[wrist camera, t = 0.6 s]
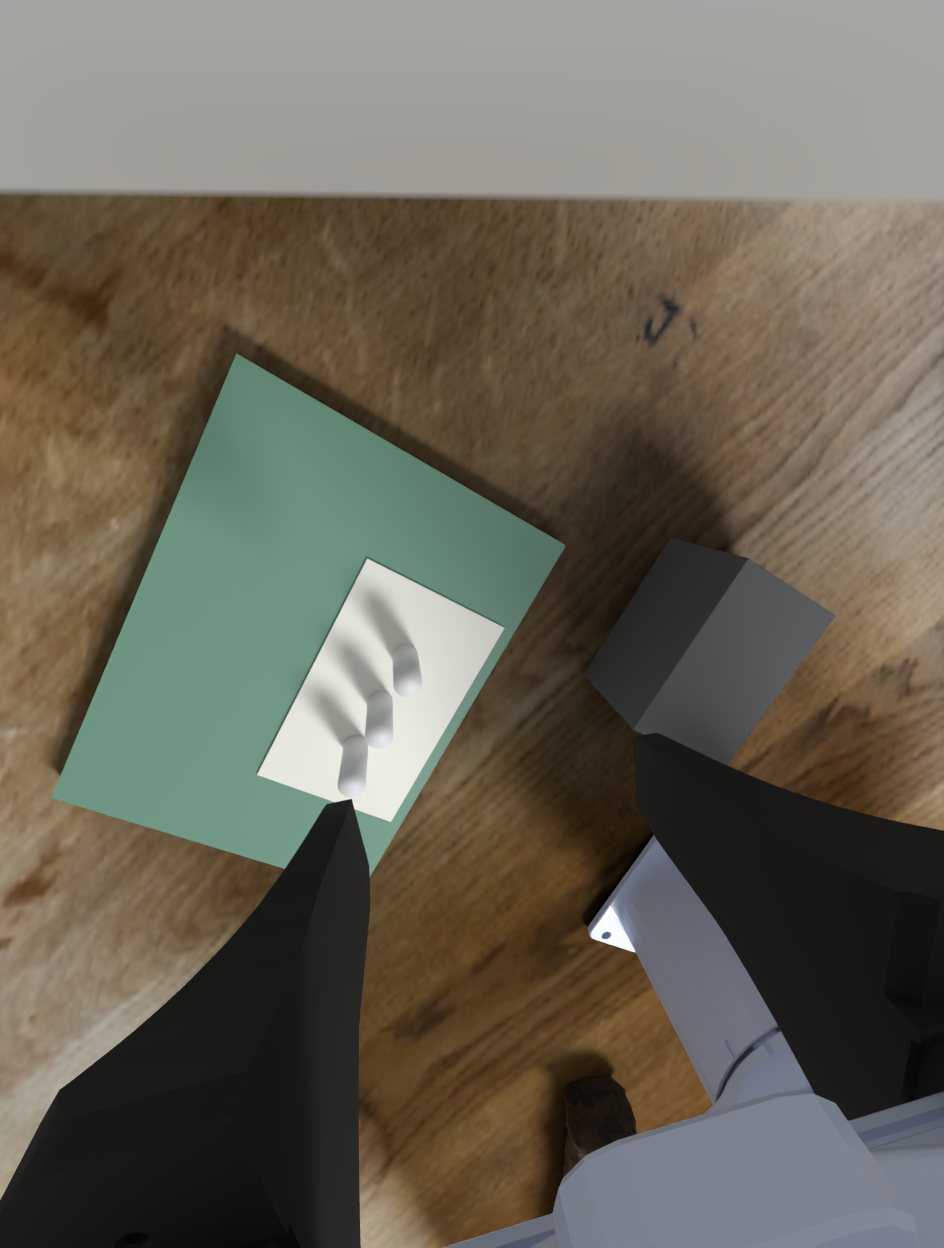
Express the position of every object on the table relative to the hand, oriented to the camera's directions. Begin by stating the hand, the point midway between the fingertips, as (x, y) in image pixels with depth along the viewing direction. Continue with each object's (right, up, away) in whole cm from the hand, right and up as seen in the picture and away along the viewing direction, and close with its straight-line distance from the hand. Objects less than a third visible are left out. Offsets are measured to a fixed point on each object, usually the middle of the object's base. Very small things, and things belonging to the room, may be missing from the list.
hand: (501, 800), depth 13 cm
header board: (-7, +3, +8) cm, 11 cm away
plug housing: (+8, +4, +10) cm, 14 cm away
